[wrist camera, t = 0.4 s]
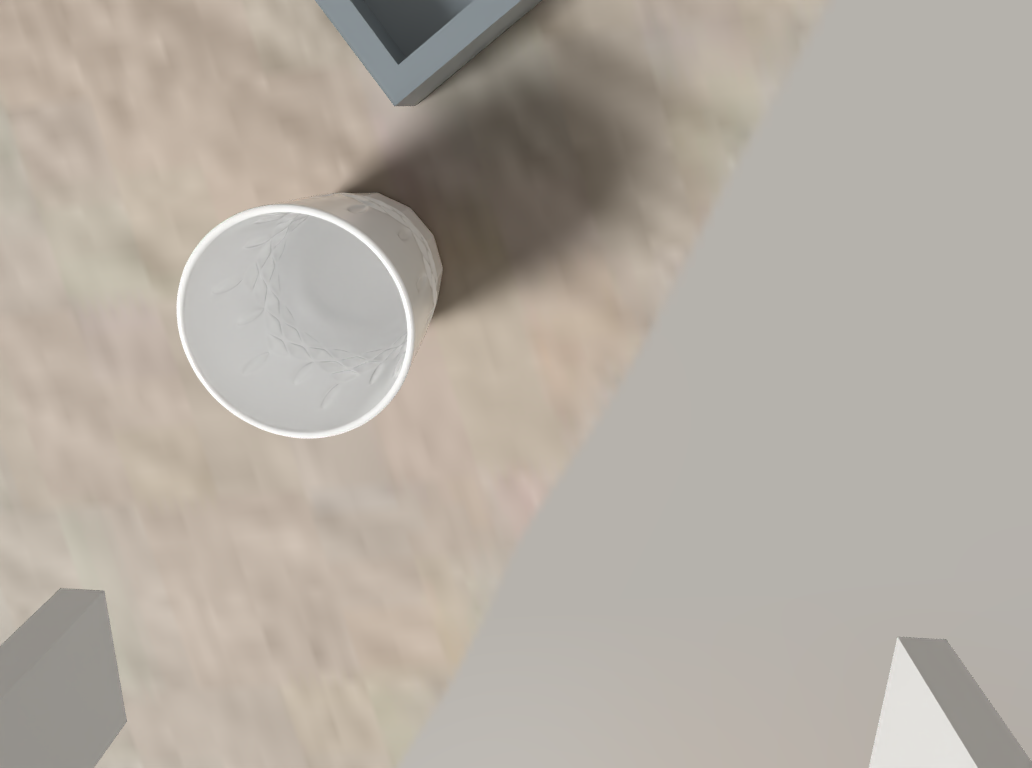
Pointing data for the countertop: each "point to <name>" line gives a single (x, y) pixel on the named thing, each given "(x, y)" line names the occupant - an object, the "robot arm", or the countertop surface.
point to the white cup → (309, 310)
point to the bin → (420, 38)
